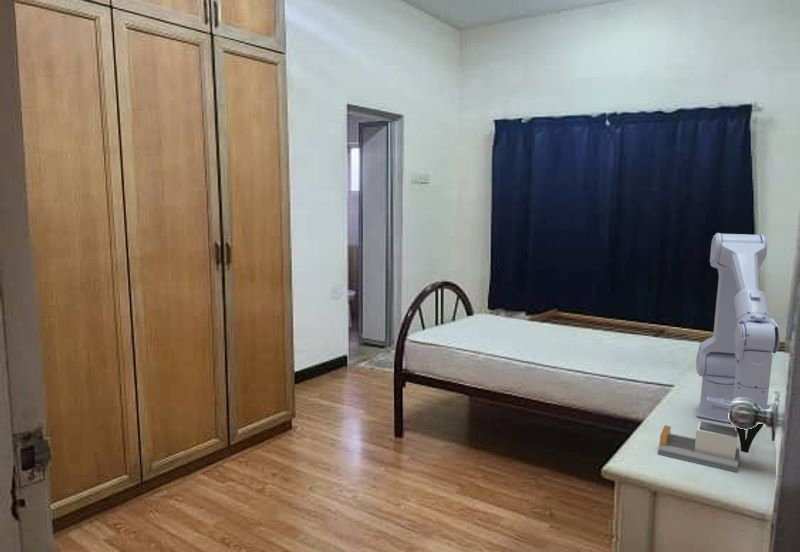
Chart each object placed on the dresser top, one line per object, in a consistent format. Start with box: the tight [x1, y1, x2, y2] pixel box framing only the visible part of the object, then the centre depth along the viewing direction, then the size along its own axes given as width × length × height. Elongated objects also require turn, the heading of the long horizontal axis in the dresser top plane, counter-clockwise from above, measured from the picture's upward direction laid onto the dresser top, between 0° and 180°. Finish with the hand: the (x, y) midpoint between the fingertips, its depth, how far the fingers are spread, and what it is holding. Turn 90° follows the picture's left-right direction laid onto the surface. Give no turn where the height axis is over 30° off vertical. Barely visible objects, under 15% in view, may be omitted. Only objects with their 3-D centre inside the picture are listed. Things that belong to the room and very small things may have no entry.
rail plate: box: [657, 425, 741, 473], centre depth 119 cm, size 9×14×4 cm, turn 58°
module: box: [695, 420, 739, 460], centre depth 117 cm, size 4×7×6 cm, turn 58°
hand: (744, 450), depth 114 cm, fingers closed
